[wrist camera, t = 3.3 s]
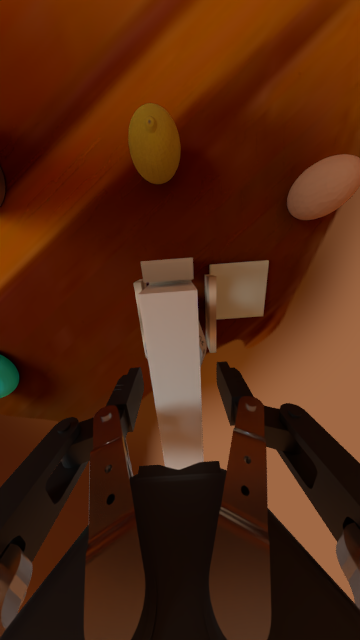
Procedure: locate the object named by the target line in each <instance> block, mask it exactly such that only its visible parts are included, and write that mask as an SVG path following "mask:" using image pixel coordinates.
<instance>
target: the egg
mask: <svg viewBox="0 0 360 640" xmlns="http://www.w3.org/2000/svg"><path fill="white" fill-rule="evenodd" d="M359 186H360V158H358V157H357V156H354V155H347V154H343V155H335V156H331V157H328V158H325V159H323V160H320V161H319V162H317V163H315V164H314V165H312V166H311V167H309V168H308V169H307V170H305V171H304V172H303V173H302V174H301V175H300V176H299V177H298V178H297V180H296V181H295V182H294V184H293V185H292V187H291V189H290V191H289V194H288V197H287V207H288V210H289V212H290V214H291V215H292V216H294V217H295V218H297V219H300V220H313V219H317V218H320V217H323V216H325V215H327V214H330V213H331V212H333V211H335V210H336V209H338V208H339V207H340V206H342V205H343V204H344V203H345V202H346V201H347V200H349V199H350V198H351V197H352V195H353V194H354V193H355V192H356V190H357V189H358V187H359Z"/></svg>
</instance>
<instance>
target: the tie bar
mask: <svg viewBox="0 0 360 640" xmlns="http://www.w3.org/2000/svg"><path fill="white" fill-rule="evenodd" d="M138 299H139V305H140V312H141V318H142V324H143V330H144V337H145V343H146V349H147V356H148V362H149V368H150V375H151V381H152V387H153V393H154V400H155V406H156V412H157V419H158V425H159V431H160V437H161V444H162V450H163V456H164V463H165V467H169V468H173V469H177V470H180V469H183V468H186V467H188V466H191V465H193V464H196V463H199V462H203V436H202V435H203V434H202V408H201V380H200V351H199V324H198V296H197V289H196V287H195V286H194V285H193V283H192V282H180V283H166V284H153V285H148V286H147V287H146V288H145V289H144V290H142V291H141V292H140V293H139V294H138Z"/></svg>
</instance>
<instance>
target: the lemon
mask: <svg viewBox="0 0 360 640" xmlns="http://www.w3.org/2000/svg"><path fill="white" fill-rule="evenodd" d="M128 143H129V150H130V155H131V158H132V161H133V164H134V165H135V167H136V169H137V171H138V172H139V174H140V175H141V176H142V177H143V178H144V179H145V180H147V181H149V182H150V183H153V184H163V183H166V182H167V181H169V180H170V179H171V178H172V177H173V176H174V174H175V172H176V170H177V168H178V165H179V161H180V150H181V147H180V140H179V134H178V131H177V128H176V125H175V123H174V121H173V119H172V117H171V116H170V114H169V113H168V112H167V111H166V110H165V109H164V108H163V107H161V106H159V105H157V104H153V103H148V104H144V105H142V106H141V107H139V108H138V109H137V110H136V111H135V113H134V115H133V117H132V118H131V122H130V125H129V133H128Z"/></svg>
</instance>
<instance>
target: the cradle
mask: <svg viewBox="0 0 360 640" xmlns="http://www.w3.org/2000/svg"><path fill="white" fill-rule="evenodd" d="M141 268H142V275H143V279H142V280H138V281H136V282H134V289H135V295H136V301H137V307H138V313H139V319H140V326H141V332H142V338H143V344H144V346H145V337H144V330H143V324H142V318H141V312H140V305H139V299H138V294H139V293H140V292H141V291H142V290H144V289H145V288H146V287H147V284H146V283H147V282H149V285H153V284H166V283H180V282H191V279H194V277H193V258H181V259H168V260H155V261H142V262H141ZM205 317H206V343H207V346H208V349H209V351H210V353H215V352H216V276H214V275H209V274H208V275H205ZM144 350H145V349H144ZM145 356H146V354H145Z"/></svg>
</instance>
